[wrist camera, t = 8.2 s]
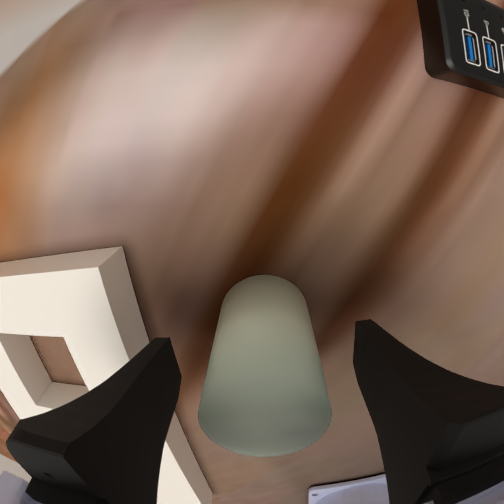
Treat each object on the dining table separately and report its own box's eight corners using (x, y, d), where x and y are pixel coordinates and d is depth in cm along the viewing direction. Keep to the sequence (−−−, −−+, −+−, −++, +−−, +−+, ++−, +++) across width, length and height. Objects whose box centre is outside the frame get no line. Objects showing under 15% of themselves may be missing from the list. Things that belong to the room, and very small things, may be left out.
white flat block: (212, 493, 21) (209, 516, 19) (92, 476, 22) (85, 495, 20) (122, 246, 14) (98, 267, 11) (-26, 266, 15) (-50, 281, 12)
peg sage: (308, 344, 15) (328, 450, 9) (228, 351, 16) (212, 458, 9) (305, 270, 14) (334, 367, 8) (214, 279, 14) (183, 378, 8)
